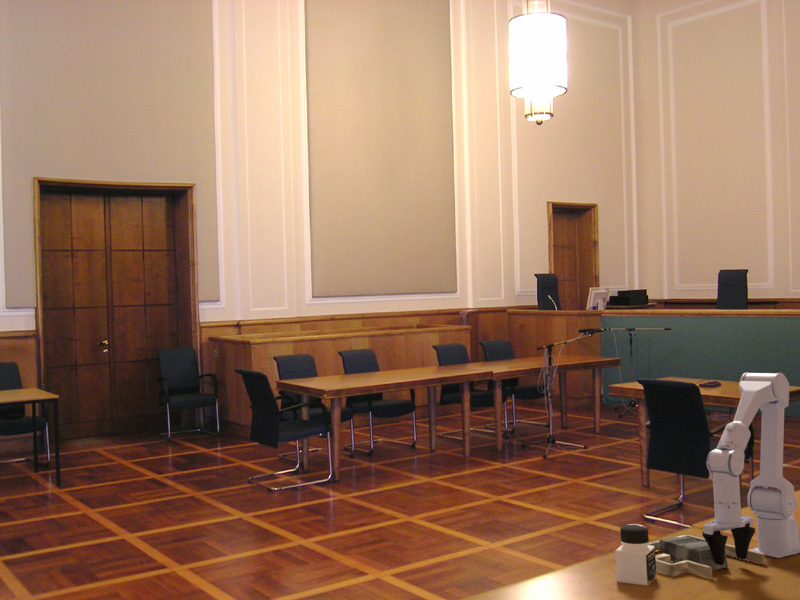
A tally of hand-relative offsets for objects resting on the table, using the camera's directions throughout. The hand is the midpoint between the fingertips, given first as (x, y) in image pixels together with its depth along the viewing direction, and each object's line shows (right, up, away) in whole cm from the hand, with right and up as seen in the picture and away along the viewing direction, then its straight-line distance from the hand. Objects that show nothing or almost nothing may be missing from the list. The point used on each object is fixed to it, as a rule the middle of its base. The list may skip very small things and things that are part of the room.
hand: (730, 561), depth 189 cm
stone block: (-6, -3, +6) cm, 9 cm away
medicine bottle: (-23, -3, -5) cm, 24 cm away
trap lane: (-7, -2, +7) cm, 10 cm away
